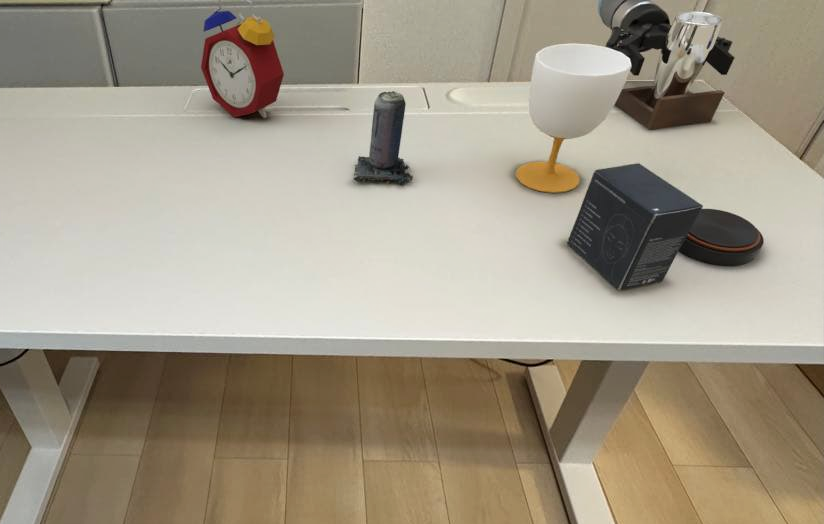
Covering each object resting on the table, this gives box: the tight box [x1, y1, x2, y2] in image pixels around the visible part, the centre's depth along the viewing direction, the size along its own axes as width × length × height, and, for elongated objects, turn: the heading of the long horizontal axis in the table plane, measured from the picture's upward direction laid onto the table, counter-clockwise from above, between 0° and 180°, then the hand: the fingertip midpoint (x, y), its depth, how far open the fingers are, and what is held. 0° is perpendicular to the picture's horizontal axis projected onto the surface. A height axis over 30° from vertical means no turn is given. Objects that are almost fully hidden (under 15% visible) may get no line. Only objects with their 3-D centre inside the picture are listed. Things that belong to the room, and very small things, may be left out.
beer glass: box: [644, 10, 724, 109], centre depth 97 cm, size 7×7×15 cm
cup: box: [515, 42, 632, 194], centre depth 82 cm, size 12×12×17 cm
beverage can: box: [352, 90, 414, 185], centre depth 87 cm, size 9×8×12 cm
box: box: [566, 162, 704, 291], centre depth 70 cm, size 11×7×10 cm, turn 15°
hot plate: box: [678, 208, 765, 267], centre depth 74 cm, size 10×10×2 cm
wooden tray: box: [614, 84, 725, 130], centre depth 100 cm, size 11×11×5 cm
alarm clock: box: [200, 0, 285, 119], centre depth 103 cm, size 15×9×20 cm, turn 50°
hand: (683, 66), depth 95 cm, fingers open, 13 cm apart
